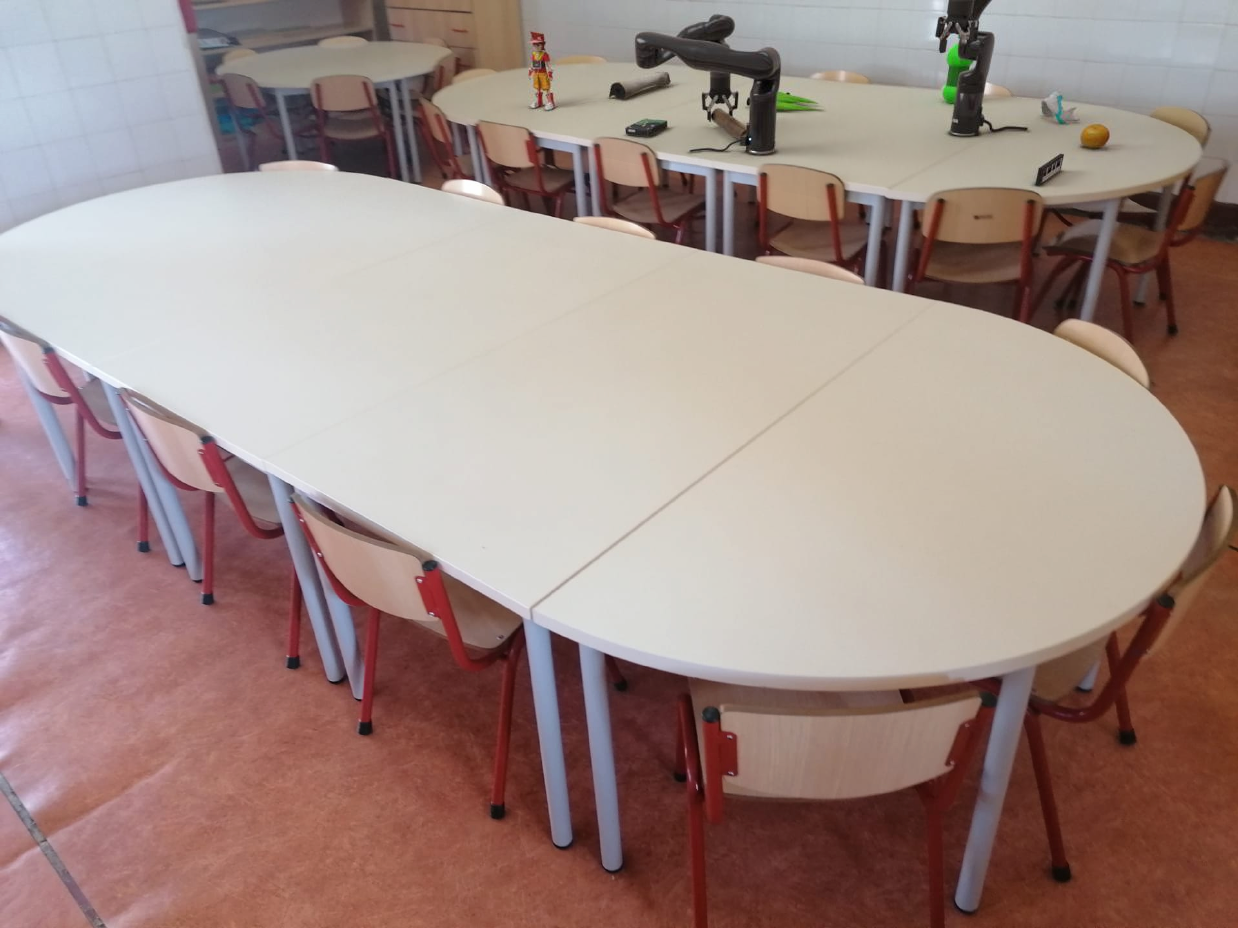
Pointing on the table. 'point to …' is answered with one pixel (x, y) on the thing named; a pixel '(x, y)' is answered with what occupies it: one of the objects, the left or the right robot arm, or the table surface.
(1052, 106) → the anatomical model
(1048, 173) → the midi keyboard
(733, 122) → the rod
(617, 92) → the rolled mat
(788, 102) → the toy
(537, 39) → the toy
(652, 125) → the disk drive
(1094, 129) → the fruit
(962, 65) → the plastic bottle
